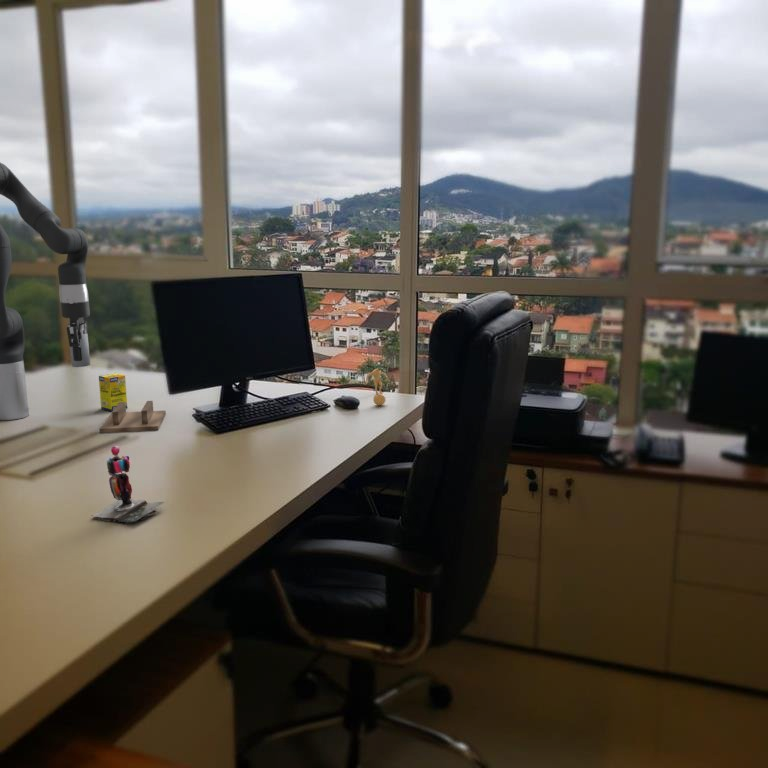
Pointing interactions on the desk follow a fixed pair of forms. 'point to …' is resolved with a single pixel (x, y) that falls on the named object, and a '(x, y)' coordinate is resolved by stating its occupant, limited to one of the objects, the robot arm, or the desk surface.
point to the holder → (133, 419)
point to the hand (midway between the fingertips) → (80, 358)
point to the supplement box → (112, 391)
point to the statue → (123, 494)
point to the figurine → (379, 397)
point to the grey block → (85, 353)
